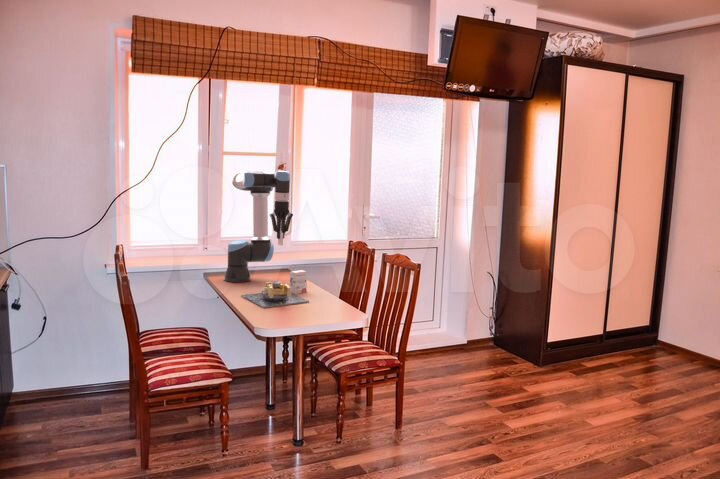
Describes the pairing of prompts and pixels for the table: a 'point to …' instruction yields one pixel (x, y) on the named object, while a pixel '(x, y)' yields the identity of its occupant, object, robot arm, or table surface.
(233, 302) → the table surface
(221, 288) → the table surface
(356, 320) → the table surface
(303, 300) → the cap plate
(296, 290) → the ink box
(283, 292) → the octagonal ring stand
